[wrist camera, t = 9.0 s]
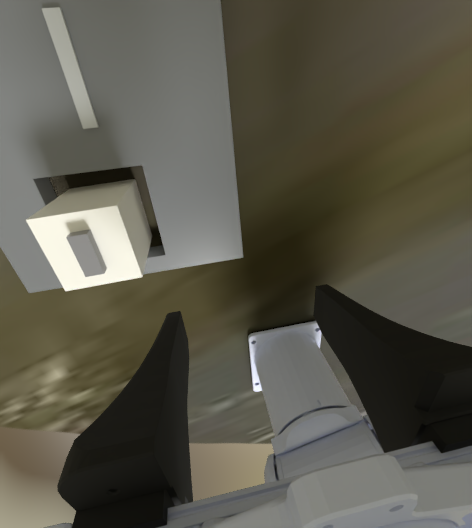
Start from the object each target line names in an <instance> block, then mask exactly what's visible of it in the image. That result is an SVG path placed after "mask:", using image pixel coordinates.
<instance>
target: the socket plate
mask: <svg viewBox="0 0 472 528" xmlns="http://www.w3.org/2000/svg"><path fill="white" fill-rule="evenodd" d="M140 165H142V166H143V170H144V174H145V178H146V182H147V186H148V189H149V193H150V197H151V201H152V205H153V209H154V212H155V216H156V220H157V224H158V228H159V232H160V235H161V239H162V243H163V245H161V246H154V247H150V248H149V252H148V256H147V260H146V265H145V269H144V273H143V274H147V273H153V272H159V271H165V270H171V269H177V268H183V267H189V266H195V265H201V264H207V263H213V262H219V261H225V260H231V259H238V258H243V249H242V237H241V226H240V215H239V203H238V192H237V181H236V169H235V158H234V147H233V135H232V124H231V113H230V101H229V90H228V79H227V67H226V56H225V45H224V34H223V22H222V11H221V0H0V247H1V249H2V250H3V252H4V253H5V255H6V257H7V258H8V260H9V262H10V263H11V265H12V266H13V268H14V270H15V271H16V273H17V275H18V276H19V278H20V279H21V281H22V283H23V284H24V286H25V288H26V289H27V291H28V292H29V293H32V292H38V291H44V290H50V289H56V288H62V287H63V286H62V284H61V283H60V281H59V279H58V277H57V275H56V274H55V272H54V270H53V268H52V266H51V265H50V263H49V261H48V259H47V257H46V256H45V254H44V252H43V250H42V248H41V247H40V245H39V243H38V241H37V239H36V238H35V236H34V234H33V232H32V230H31V229H30V227H29V225H28V223H27V221H26V219H28V218H29V217H31V216H32V215H33V214H35V213H36V212H38V211H39V210H40V209H42V208H43V207H45V206H46V205H47V204H49V203H50V202H52V201H53V200H55V199H56V198H57V196H56V194H55V191H54V189H53V187H52V185H51V182H50V180H49V178H48V177H53V176H60V175H68V174H76V173H84V172H92V171H100V170H108V169H116V168H124V167H132V166H140Z"/></svg>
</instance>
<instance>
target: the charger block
mask: <svg viewBox="0 0 472 528" xmlns="http://www.w3.org/2000/svg"><path fill="white" fill-rule="evenodd" d="M26 221H27V223H28V225H29V227H30V229H31V230H32V232H33V234H34V236H35V238H36V239H37V241H38V243H39V245H40V247H41V248H42V250H43V252H44V254H45V256H46V257H47V259H48V261H49V263H50V265H51V266H52V268H53V270H54V272H55V274H56V275H57V277H58V279H59V281H60V283H61V284H62V286H63V288H64V290H65V291H70V290H75V289H81V288H86V287H91V286H97V285H102V284H108V283H113V282H118V281H124V280H129V279H135V278H140V277H143V273H144V269H145V265H146V260H147V256H148V252H149V248H150V244H151V239H152V233H151V230H150V226H149V223H148V220H147V217H146V213H145V210H144V207H143V203H142V200H141V197H140V193H139V190H138V187H137V183H136V180H135V179H131V180H124V181H117V182H111V183H104V184H98V185H91V186H84V187H78V188H71V189H69V190H67V191H66V192H64V193H63V194H62V195H60V196H59V197H57V198H56V199H55V200H53V201H52V202H50V203H49V204H47V205H46V206H45V207H43V208H42V209H40V210H39V211H38V212H36V213H35V214H33V215H32V216H31V217H29V218H28V219H26Z"/></svg>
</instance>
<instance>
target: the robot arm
mask: <svg viewBox="0 0 472 528" xmlns="http://www.w3.org/2000/svg"><path fill="white" fill-rule="evenodd" d="M314 317H315V320H316V321H312V322H307V323H302V324H297V325H292V326H287V327H281V328H276V329H271V330H266V331H261V332H256V333H251V334H250V335H249V336H248V342H249V352H250V363H251V373H252V384H253V390H254V391H256V392H258V391H263V395H264V398H265V402H266V406H267V409H268V413H269V416H270V420H271V423H272V427H273V431H274V434H275V438H273V439H271V442H272V446H273V449H274V454H271V455H269V456H268V458H267V463H266V466H265V472H264V474H265V475H264V476H265V484H261V485H257V486H253V487H249V488H245V489H241V490H237V491H233V492H229V493H226V494H222V495H218V496H214V497H210V498H206V499H202V500H198V501H194V502H193V494H192V483H191V468H190V453H189V436H188V417H187V394H188V373H189V349H188V339H187V335H186V331H185V327H184V323H183V319H182V316H181V312H180V311H178V312H172V313H168V314H167V315H166V318H165V320H164V323H163V325H162V327H161V330H160V332H159V334H158V336H157V338H156V340H155V342H154V344H153V346H152V347H151V349H150V351H149V353H148V354H147V356H146V358H145V359H144V361H143V363H142V364H141V366H140V367H139V369H138V370H137V372H136V373H135V375H134V376H133V377H132V379H131V380H130V381H129V383H128V384H127V385H126V387H125V388H124V389H123V390H122V392H121V393H120V394H119V395H118V397H117V398H116V399H115V400H114V401H113V402H112V403H111V404H110V405H109V407H108V408H107V409H106V410H105V411H104V412H103V413H102V414H101V415H100V416H99V417H98V418H97V419H96V420H95V421H94V422H93V423H92V424H91V425H90V426H89V427H88V428H87V429H86V430H85V431H84V432H83V433H82V434H81V435H80V436H78V437H77V438H76V439H75V440H74V443H73V445H72V447H71V449H70V451H69V454H68V456H67V459H66V462H65V465H64V468H63V471H62V474H61V477H60V480H59V483H58V492H59V493H60V495H61V497H62V498H63V499H64V500H65V501H66V502H68V503H69V504H70V505H71V506H72V507H73V508H74V509H75V510H76V515H75V518H74V522H73V524H71V523H62V524H57V525H53V526H49V527H45V528H472V347H469V346H465V345H461V344H457V343H453V342H449V341H446V340H443V339H439V338H436V337H433V336H430V335H427V334H424V333H421V332H418V331H416V330H413V329H410V328H408V327H405V326H403V325H400V324H398V323H396V322H393V321H391V320H389V319H387V318H385V317H383V316H381V315H379V314H377V313H375V312H373V311H371V310H369V309H367V308H366V307H364V306H362V305H360V304H358V303H357V302H355V301H353V300H352V299H350V298H348V297H347V296H345V295H344V294H342V293H340V292H339V291H337V290H335V289H334V288H332V287H330V286H329V285H327V284H326V285H321V286H316V292H315V304H314ZM316 328H317V329H316ZM321 332H322V334H323V336H324V337H325V339H326V340H327V342H328V344H329V345H330V347H331V348H332V350H333V351H334V353H335V354H336V356H337V357H338V359H339V361H340V362H341V364H342V365H343V367H344V369H345V370H346V372H347V374H348V375H349V377H350V379H351V381H352V383H353V385H354V387H355V389H356V391H357V393H358V395H359V397H360V399H361V402H362V404H363V406H364V408H365V410H366V412H367V414H368V415H365V416H363V417H362V416H361V414H360V412H359V411H358V409H357V407H356V405H351V403H350V401H349V399H348V398H347V396H346V394H345V392H344V391H343V389H342V387H341V385H340V384H339V382H338V380H337V378H336V377H335V375H334V373H333V371H332V370H331V368H330V366H329V364H328V363H327V361H326V359H325V357H324V355H323V354H322V352H321V350H320V341H321Z"/></svg>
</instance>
